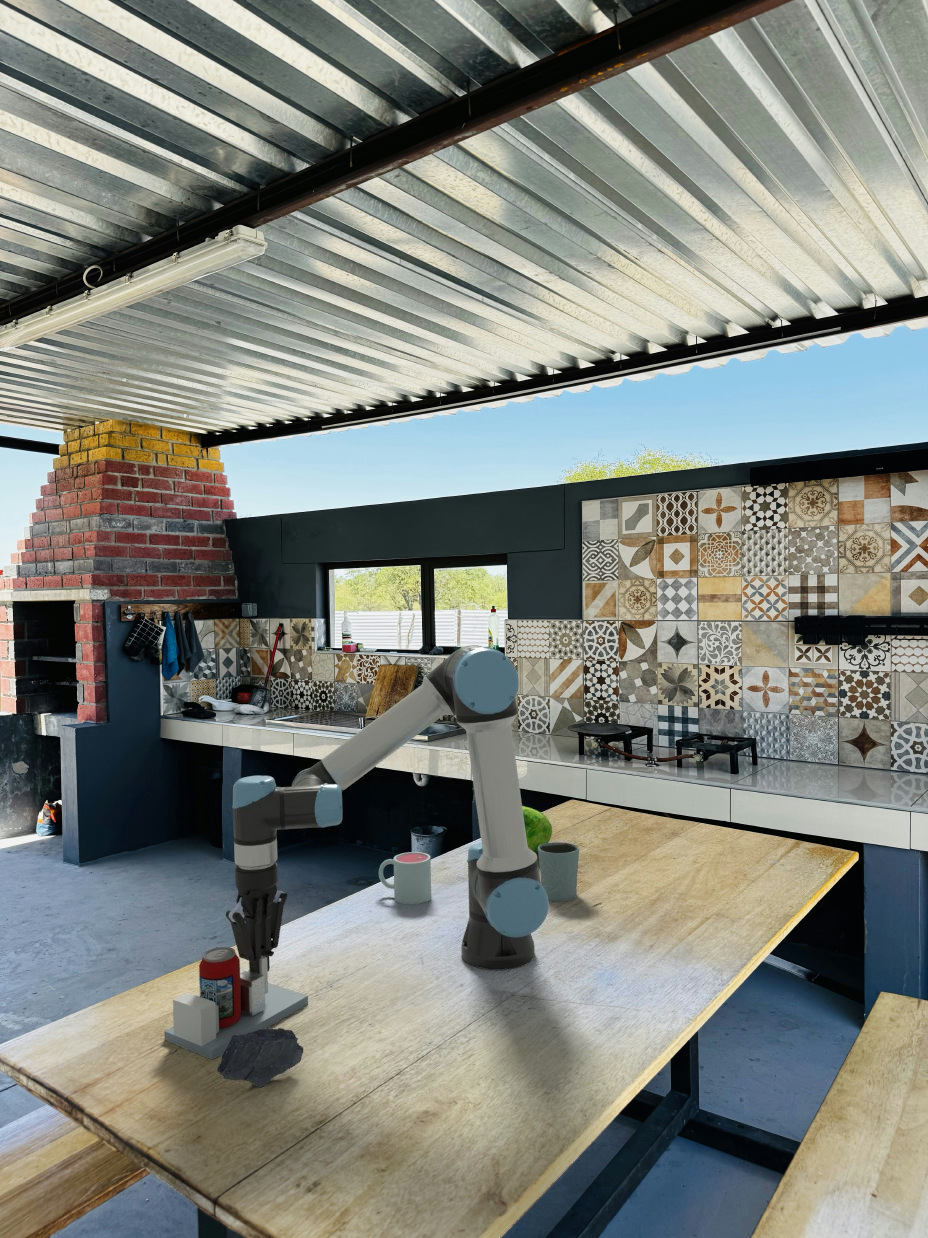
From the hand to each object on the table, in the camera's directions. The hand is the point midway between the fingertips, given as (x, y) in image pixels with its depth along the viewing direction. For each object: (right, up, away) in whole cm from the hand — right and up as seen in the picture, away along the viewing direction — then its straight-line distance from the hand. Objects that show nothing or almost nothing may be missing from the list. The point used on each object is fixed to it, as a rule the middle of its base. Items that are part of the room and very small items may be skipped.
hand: (260, 992), depth 152 cm
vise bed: (-3, -3, -4) cm, 6 cm away
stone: (+7, -4, -25) cm, 26 cm away
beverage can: (-5, -2, -8) cm, 9 cm away
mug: (+22, -2, +57) cm, 61 cm away
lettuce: (+54, -1, +93) cm, 107 cm away
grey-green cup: (+61, -1, +56) cm, 82 cm away
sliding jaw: (-2, -1, -3) cm, 4 cm away
